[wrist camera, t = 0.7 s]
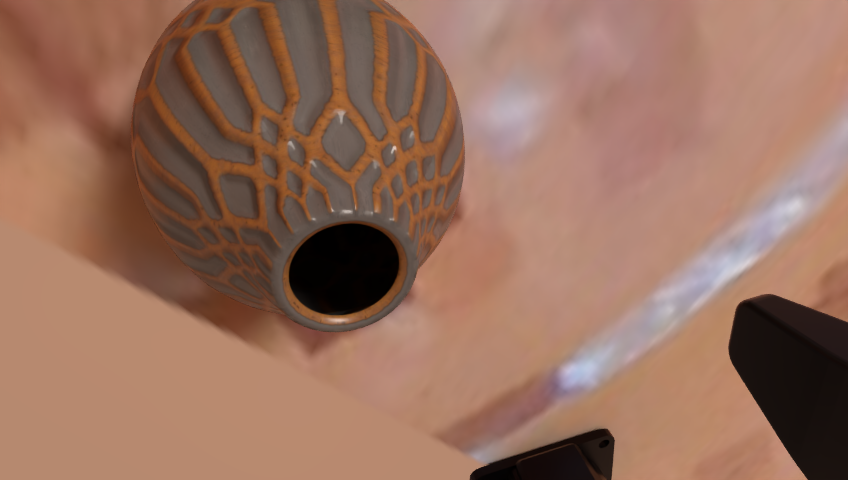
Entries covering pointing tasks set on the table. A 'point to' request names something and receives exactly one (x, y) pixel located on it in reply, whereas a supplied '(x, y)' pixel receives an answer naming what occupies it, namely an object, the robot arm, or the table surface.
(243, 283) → the vase
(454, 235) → the table surface
